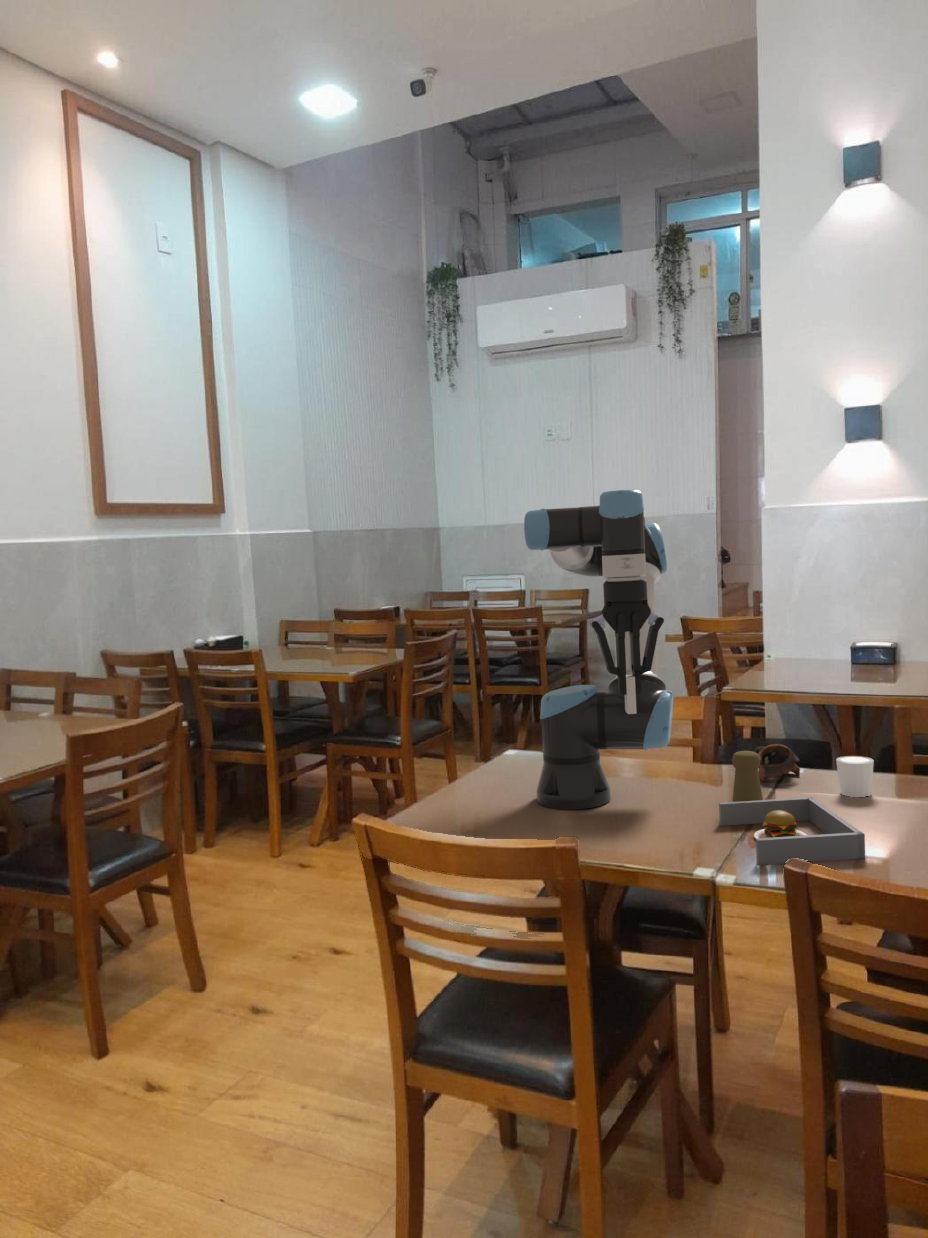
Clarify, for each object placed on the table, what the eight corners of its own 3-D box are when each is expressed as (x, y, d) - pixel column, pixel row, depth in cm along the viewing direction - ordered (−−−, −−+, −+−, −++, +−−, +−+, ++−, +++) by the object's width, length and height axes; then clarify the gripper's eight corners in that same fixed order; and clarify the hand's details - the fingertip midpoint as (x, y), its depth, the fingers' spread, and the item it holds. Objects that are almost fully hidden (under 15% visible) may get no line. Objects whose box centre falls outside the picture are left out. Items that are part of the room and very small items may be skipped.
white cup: (876, 799, 179) (875, 763, 179) (838, 798, 181) (837, 763, 181) (873, 790, 186) (872, 755, 185) (836, 789, 188) (835, 755, 187)
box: (719, 824, 169) (718, 802, 169) (812, 818, 170) (811, 797, 169) (758, 865, 148) (757, 840, 147) (865, 858, 148) (864, 834, 147)
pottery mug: (813, 779, 198) (806, 751, 194) (781, 804, 195) (773, 776, 191) (772, 756, 208) (765, 728, 204) (741, 779, 205) (733, 752, 202)
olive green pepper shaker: (766, 812, 175) (764, 755, 174) (732, 812, 176) (730, 755, 175) (762, 803, 181) (760, 748, 180) (730, 803, 182) (728, 748, 181)
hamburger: (816, 832, 164) (815, 802, 163) (820, 855, 152) (819, 822, 152) (745, 830, 167) (743, 800, 167) (744, 852, 156) (742, 820, 156)
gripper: (590, 582, 158) (597, 718, 160) (666, 577, 158) (672, 714, 160) (584, 580, 166) (591, 711, 167) (657, 576, 166) (662, 706, 168)
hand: (630, 712), depth 164 cm, fingers closed
